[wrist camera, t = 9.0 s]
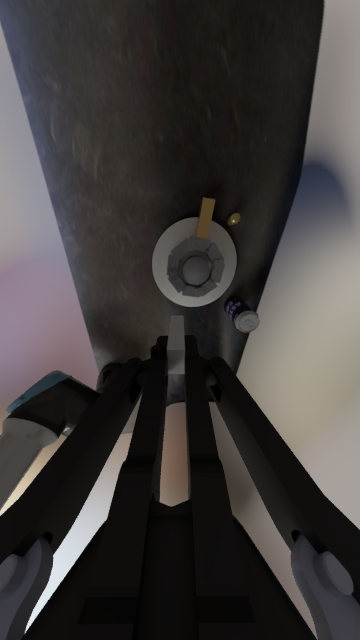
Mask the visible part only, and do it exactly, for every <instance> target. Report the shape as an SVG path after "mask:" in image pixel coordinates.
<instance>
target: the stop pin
mask: <svg viewBox="0 0 360 640" xmlns="http://www.w3.org/2000/svg"><path fill="white" fill-rule="evenodd" d="M239 221H240V215H239V214H238V213H234V214H232V215H231V216H229V217H227V218H226V219H225V221H224V224H225V226H227V227H229V226H232V225H235V224H237V223H238V222H239Z"/></svg>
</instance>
